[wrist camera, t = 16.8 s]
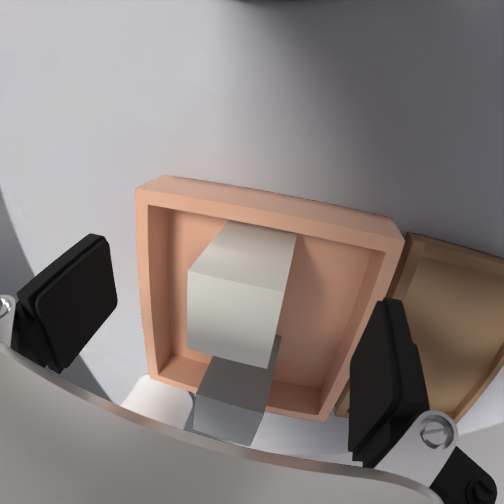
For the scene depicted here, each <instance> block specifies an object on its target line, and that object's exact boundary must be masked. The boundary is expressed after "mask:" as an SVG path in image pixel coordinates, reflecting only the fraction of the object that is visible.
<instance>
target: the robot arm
mask: <svg viewBox="0 0 504 504" xmlns="http://www.w3.org/2000/svg"><path fill="white" fill-rule="evenodd" d="M17 296H18V299H19V301H18V302H17V303H16V301H15V300H14V298H13V297H11V296H9V295H0V504H495V501H496V497H497V487H496V484H495V482H494V480H493V479H492V477H491V476H490V475H489V474H487V473H486V472H485V471H484V470H483V469H482V468H481V467H479V466H478V465H477V464H476V463H475V462H474V461H473V460H472V459H470V458H469V457H468V456H467V455H466V454H465V453H464V452H462V450H460V449H459V448H458V447H457V446H456V444H457V441H458V430H457V426H456V424H455V423H454V421H453V420H452V419H451V418H450V417H449V416H448V415H447V414H445V413H443V412H441V411H437V410H430V405H429V400H428V394H427V389H426V384H425V379H424V374H423V369H422V364H421V360H420V356H419V351H418V348H417V345H416V344H415V343H413V342H412V337H411V333H410V329H409V325H408V321H407V317H406V314H405V310H404V306H403V303H402V301H401V300H398V299H393V298H388V297H384V298H383V300H382V301H379V300H378V301H377V302H376V304H375V307H374V309H373V312H372V314H371V316H370V318H369V321H368V323H367V325H366V327H365V330H364V332H363V334H362V336H361V338H360V341H359V343H358V345H357V347H356V349H355V351H354V353H353V355H352V358H351V361H350V404H349V436H348V451H349V452H353V457H352V461H362V462H363V467H357V466H350V465H343V464H336V463H328V462H320V461H313V460H307V459H301V458H295V457H290V456H285V455H280V454H274V453H269V452H264V451H260V450H255V449H251V448H246V447H242V446H238V445H234V444H230V443H226V442H222V441H219V440H215V439H212V438H208V437H205V436H201V435H198V434H195V433H192V432H188V431H185V430H182V429H179V428H176V427H173V426H170V425H167V424H165V423H162V422H159V421H156V420H154V419H151V418H148V417H146V416H143V415H141V414H138V413H136V412H133V411H131V410H128V409H126V408H123V407H121V406H119V405H116V404H114V403H112V402H109V401H107V400H105V399H103V398H101V397H99V396H96V395H94V394H92V393H90V392H88V391H86V390H84V389H82V388H80V387H78V386H76V385H74V384H72V383H70V382H68V381H66V380H64V379H62V378H61V377H59V376H57V375H55V374H53V373H51V372H50V371H48V370H46V369H45V367H46V365H48V367H49V369H51V370H53V371H55V372H56V373H58V374H60V373H61V372H62V370H63V369H64V368H67V367H68V366H70V364H71V363H72V362H73V360H74V359H75V357H76V356H77V355H78V354H79V353H80V351H81V350H82V349H83V348H84V346H85V345H86V344H87V343H88V341H89V340H90V339H91V338H92V336H93V335H94V334H95V333H96V331H97V330H98V329H99V328H100V326H101V325H102V324H103V323H104V322H105V320H106V319H107V318H108V317H109V316H110V314H111V313H112V312H113V311H114V310H115V308H116V306H117V302H118V300H117V294H116V288H115V282H114V276H113V269H112V262H111V255H110V247H109V243H108V242H107V241H106V239H105V237H104V236H100V235H96V234H88V235H87V236H86V237H84V238H83V239H82V240H80V241H79V242H78V243H76V244H75V245H74V246H73V247H71V248H70V249H69V250H67V251H66V252H65V253H64V254H62V255H61V256H60V257H59V258H57V259H56V260H55V261H54V262H52V263H51V264H50V265H49V266H48V267H46V268H45V269H44V270H43V271H42V272H40V273H39V274H38V275H37V276H36V277H34V278H33V279H32V280H31V281H30V282H29V283H28V284H26V285H25V286H24V287H23V288H22V289H21V290H19V291H18V292H17Z"/></svg>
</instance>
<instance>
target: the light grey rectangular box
mask: <svg viewBox="0 0 504 504" xmlns="http://www.w3.org/2000/svg"><path fill="white" fill-rule="evenodd" d="M296 238H297V233H295V232H290V231H285V230H280V229H275V228H270V227H265V226H260V225H255V224H250V223H245V222H240V221H235V220H230V219H229V221H228V222H227V223H226V224H225V225H224V227H223V228H222V229H221V230H220V232H219V233H218V234H217V235H216V236H215V238H214V239H213V240H212V241H211V243H210V244H209V245H208V246H207V247H206V249H205V250H204V251H203V252H202V254H201V255H200V256H199V257H198V259H197V260H196V261H195V262H194V264H193V265H192V266H191V267H190V269H189V270H188V281H187V348H188V349H191V350H195V351H198V352H202V353H205V354H209V355H213V356H217V357H220V358H224V359H228V360H232V361H236V362H240V363H244V364H248V365H253V366H257V367H261V368H266V369H267V367H268V363H269V359H270V355H271V351H272V347H273V343H274V339H275V334H276V330H277V326H278V322H279V317H280V313H281V309H282V304H283V300H284V296H285V291H286V286H287V282H288V277H289V272H290V267H291V263H292V258H293V253H294V248H295V243H296Z"/></svg>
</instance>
